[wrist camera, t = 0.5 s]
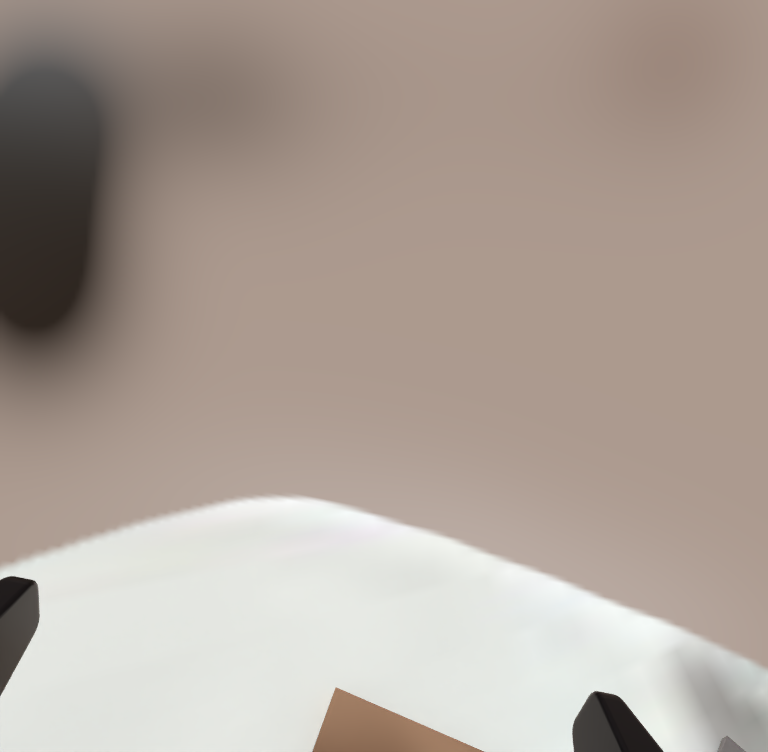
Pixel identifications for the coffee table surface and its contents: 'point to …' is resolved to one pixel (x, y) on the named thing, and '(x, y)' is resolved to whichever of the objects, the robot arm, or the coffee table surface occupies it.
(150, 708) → the coffee table surface
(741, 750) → the mat
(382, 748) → the coaster
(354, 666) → the coffee table surface
